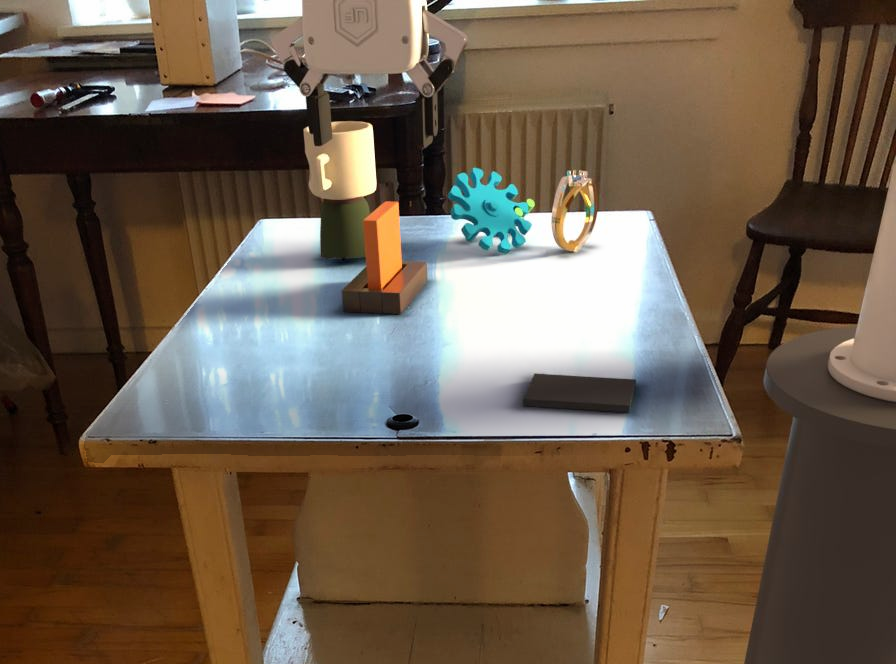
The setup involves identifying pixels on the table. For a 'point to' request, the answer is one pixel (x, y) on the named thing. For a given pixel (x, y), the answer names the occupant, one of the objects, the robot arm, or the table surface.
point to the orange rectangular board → (382, 245)
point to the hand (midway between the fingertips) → (373, 144)
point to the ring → (561, 210)
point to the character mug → (342, 186)
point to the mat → (580, 393)
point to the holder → (385, 291)
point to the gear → (490, 211)
